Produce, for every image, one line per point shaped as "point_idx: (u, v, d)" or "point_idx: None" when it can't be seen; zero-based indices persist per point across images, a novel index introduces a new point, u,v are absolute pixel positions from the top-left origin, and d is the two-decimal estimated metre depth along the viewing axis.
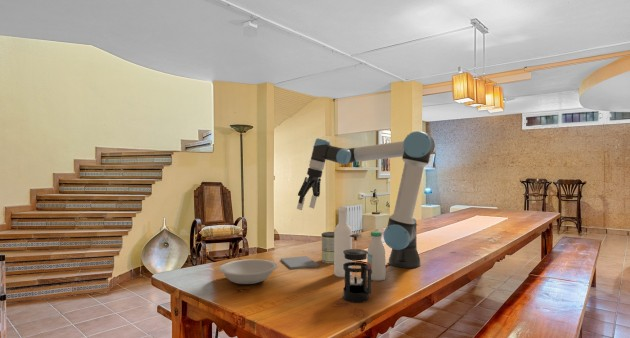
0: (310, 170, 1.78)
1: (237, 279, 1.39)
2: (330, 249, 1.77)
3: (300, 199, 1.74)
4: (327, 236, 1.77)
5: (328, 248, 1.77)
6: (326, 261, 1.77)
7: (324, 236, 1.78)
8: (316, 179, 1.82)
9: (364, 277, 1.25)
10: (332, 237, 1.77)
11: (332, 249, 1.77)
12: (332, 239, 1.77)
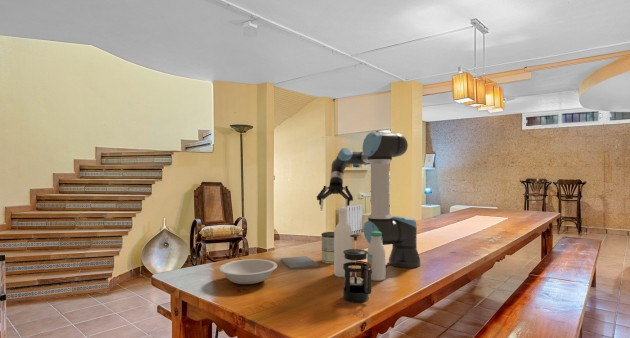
0: None
1: (237, 279, 1.39)
2: (330, 249, 1.77)
3: None
4: (327, 236, 1.77)
5: (328, 248, 1.77)
6: (326, 261, 1.77)
7: (324, 236, 1.78)
8: None
9: (364, 277, 1.25)
10: (332, 237, 1.77)
11: (332, 249, 1.77)
12: (332, 239, 1.77)
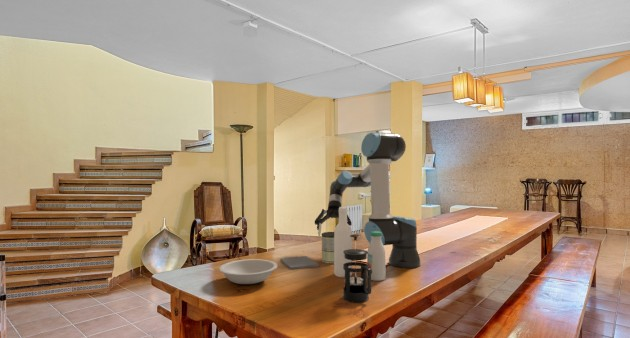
0: None
1: (237, 279, 1.39)
2: (330, 249, 1.77)
3: (317, 226, 1.93)
4: (327, 236, 1.77)
5: (328, 248, 1.77)
6: (326, 261, 1.77)
7: (324, 236, 1.78)
8: (337, 210, 1.98)
9: (364, 277, 1.25)
10: (332, 237, 1.77)
11: (332, 249, 1.77)
12: (332, 239, 1.77)
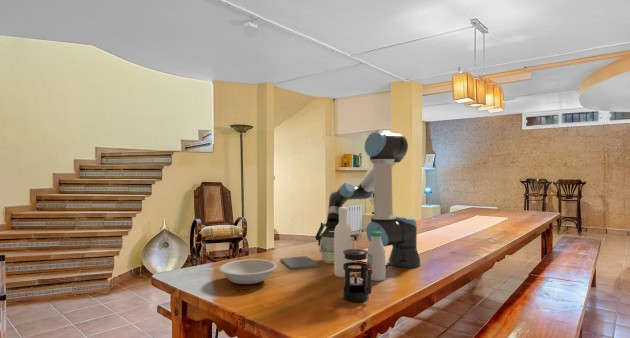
0: None
1: (237, 279, 1.39)
2: (330, 249, 1.77)
3: None
4: (327, 236, 1.77)
5: (328, 248, 1.77)
6: (326, 261, 1.77)
7: (324, 236, 1.78)
8: (336, 223, 1.89)
9: (364, 277, 1.25)
10: (332, 237, 1.77)
11: (332, 249, 1.77)
12: (332, 239, 1.77)
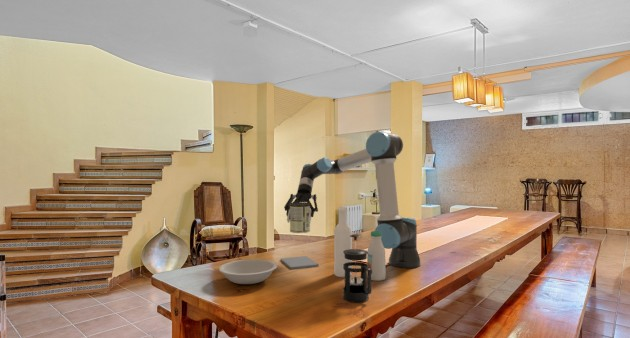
0: None
1: (237, 279, 1.39)
2: (298, 218, 1.73)
3: None
4: (294, 205, 1.74)
5: (296, 218, 1.74)
6: (293, 231, 1.74)
7: (292, 205, 1.75)
8: (306, 194, 1.86)
9: (364, 277, 1.25)
10: (299, 206, 1.73)
11: (299, 219, 1.73)
12: (299, 208, 1.73)
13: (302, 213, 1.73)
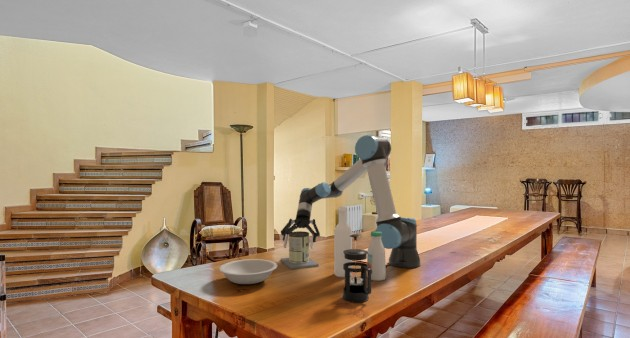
0: None
1: (237, 279, 1.39)
2: (297, 249, 1.72)
3: None
4: (294, 236, 1.73)
5: (295, 248, 1.73)
6: (293, 261, 1.73)
7: (291, 236, 1.74)
8: (305, 219, 1.85)
9: (364, 277, 1.25)
10: (299, 237, 1.72)
11: (299, 249, 1.72)
12: (298, 238, 1.72)
13: (301, 244, 1.73)
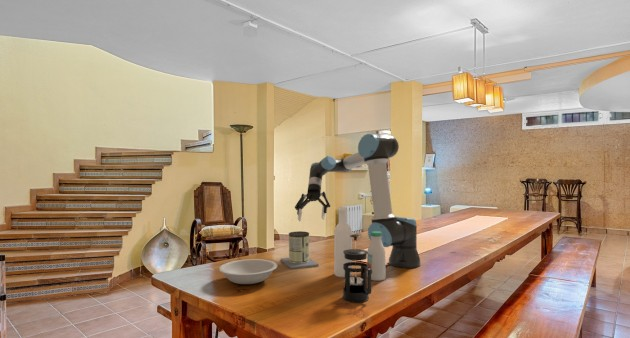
0: None
1: (237, 279, 1.39)
2: (297, 249, 1.72)
3: None
4: (293, 236, 1.73)
5: (295, 248, 1.73)
6: (293, 261, 1.73)
7: (291, 236, 1.74)
8: (315, 193, 1.99)
9: (364, 277, 1.25)
10: (298, 237, 1.72)
11: (299, 249, 1.72)
12: (298, 238, 1.72)
13: (301, 244, 1.73)
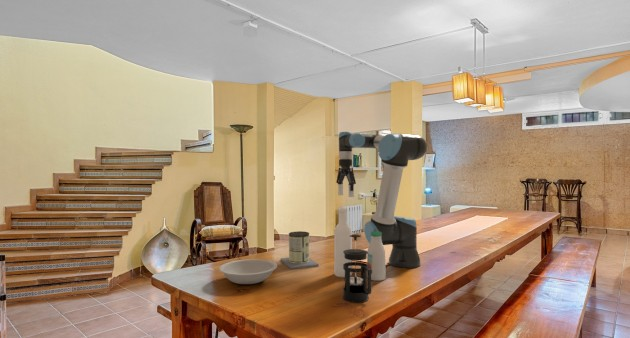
0: None
1: (237, 279, 1.39)
2: (297, 249, 1.72)
3: None
4: (293, 236, 1.73)
5: (295, 248, 1.73)
6: (293, 261, 1.73)
7: (291, 236, 1.74)
8: (345, 168, 2.00)
9: (364, 277, 1.25)
10: (298, 237, 1.72)
11: (299, 249, 1.72)
12: (298, 238, 1.72)
13: (301, 244, 1.73)
